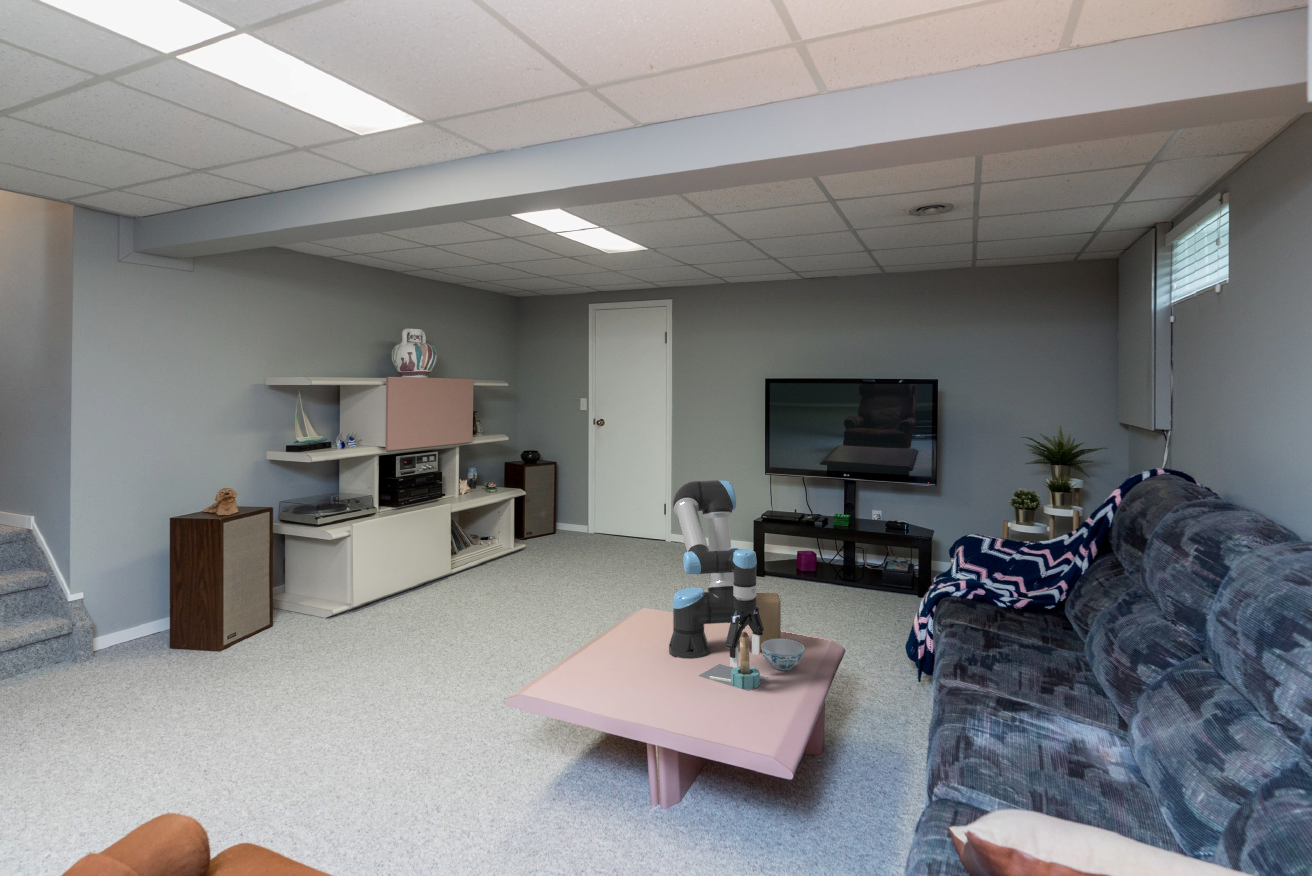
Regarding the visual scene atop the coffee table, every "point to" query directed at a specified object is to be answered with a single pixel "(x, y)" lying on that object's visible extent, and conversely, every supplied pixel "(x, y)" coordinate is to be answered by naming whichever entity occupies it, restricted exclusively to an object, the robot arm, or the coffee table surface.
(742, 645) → the wooden rod
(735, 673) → the bead
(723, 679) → the white stick
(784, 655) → the chinaware
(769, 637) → the wooden block
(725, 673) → the mat
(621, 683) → the coffee table surface
